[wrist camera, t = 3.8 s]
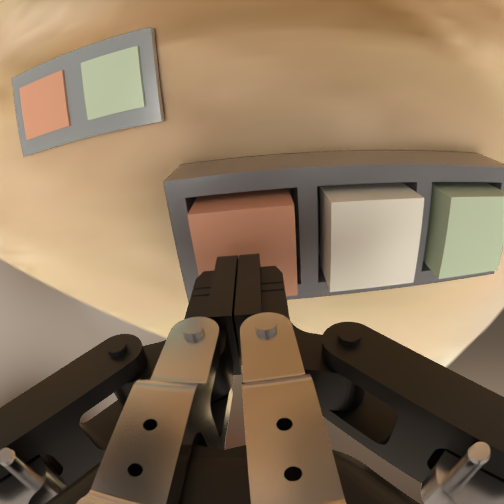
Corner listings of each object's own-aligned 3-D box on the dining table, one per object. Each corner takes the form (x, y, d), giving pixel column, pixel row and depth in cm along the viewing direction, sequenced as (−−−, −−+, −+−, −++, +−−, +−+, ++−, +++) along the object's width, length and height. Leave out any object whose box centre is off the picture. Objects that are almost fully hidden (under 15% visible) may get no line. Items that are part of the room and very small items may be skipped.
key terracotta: (197, 196, 14) (187, 215, 12) (287, 187, 14) (294, 204, 12) (210, 274, 16) (204, 302, 14) (291, 267, 16) (297, 295, 14)
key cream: (319, 185, 14) (331, 202, 12) (401, 182, 14) (424, 197, 12) (320, 264, 16) (329, 292, 14) (395, 258, 16) (413, 282, 13)
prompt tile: (17, 77, 13) (9, 78, 12) (154, 29, 13) (149, 26, 12) (28, 154, 15) (21, 157, 15) (164, 120, 15) (160, 121, 14)
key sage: (426, 181, 14) (451, 197, 12) (485, 181, 14) (512, 196, 11) (418, 255, 16) (438, 279, 13) (474, 249, 15) (497, 269, 13)
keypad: (180, 164, 16) (163, 181, 13) (476, 153, 15) (513, 168, 12) (199, 270, 19) (189, 306, 16) (465, 246, 18) (493, 273, 15)
